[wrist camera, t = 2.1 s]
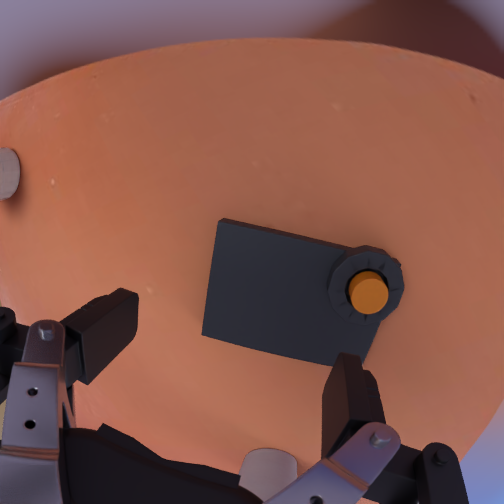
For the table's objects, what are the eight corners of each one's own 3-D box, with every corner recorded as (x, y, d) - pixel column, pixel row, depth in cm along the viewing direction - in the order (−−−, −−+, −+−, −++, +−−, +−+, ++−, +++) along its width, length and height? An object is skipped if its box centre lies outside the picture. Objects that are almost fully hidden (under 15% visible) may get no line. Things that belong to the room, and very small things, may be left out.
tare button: (354, 267, 20) (357, 274, 19) (388, 275, 20) (393, 283, 19) (344, 300, 21) (346, 310, 20) (376, 308, 21) (381, 317, 19)
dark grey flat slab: (224, 208, 24) (213, 214, 21) (402, 250, 22) (413, 262, 19) (206, 327, 27) (195, 344, 24) (360, 362, 25) (364, 383, 22)
